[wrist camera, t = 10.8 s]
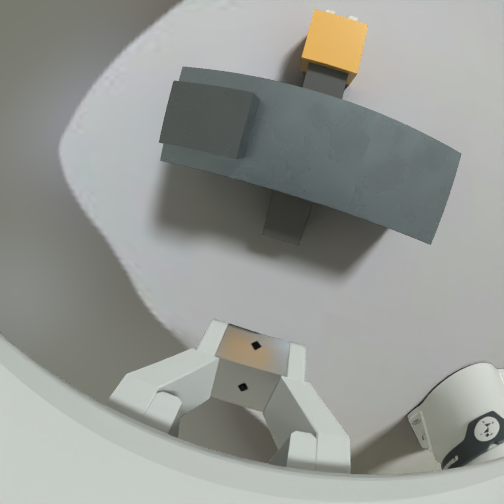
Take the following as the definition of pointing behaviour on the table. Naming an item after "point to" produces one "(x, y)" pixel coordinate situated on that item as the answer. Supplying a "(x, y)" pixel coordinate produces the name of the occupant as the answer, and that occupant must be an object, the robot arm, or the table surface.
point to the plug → (324, 81)
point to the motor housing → (309, 148)
